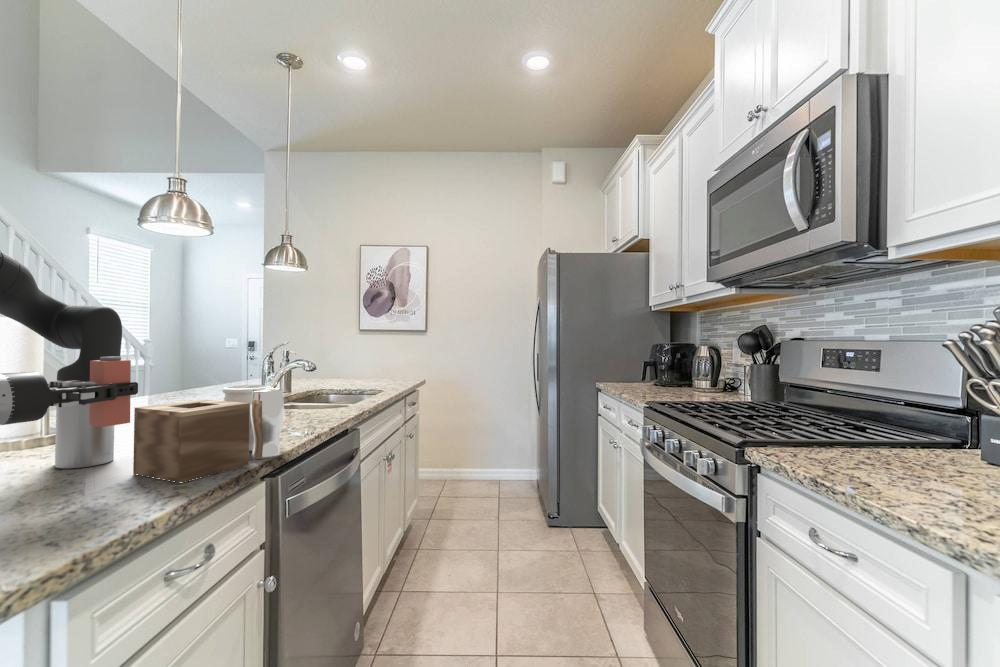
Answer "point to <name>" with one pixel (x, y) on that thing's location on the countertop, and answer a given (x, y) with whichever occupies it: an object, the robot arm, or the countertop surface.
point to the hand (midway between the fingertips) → (128, 387)
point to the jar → (242, 400)
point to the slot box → (190, 439)
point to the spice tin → (119, 407)
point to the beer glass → (266, 422)
